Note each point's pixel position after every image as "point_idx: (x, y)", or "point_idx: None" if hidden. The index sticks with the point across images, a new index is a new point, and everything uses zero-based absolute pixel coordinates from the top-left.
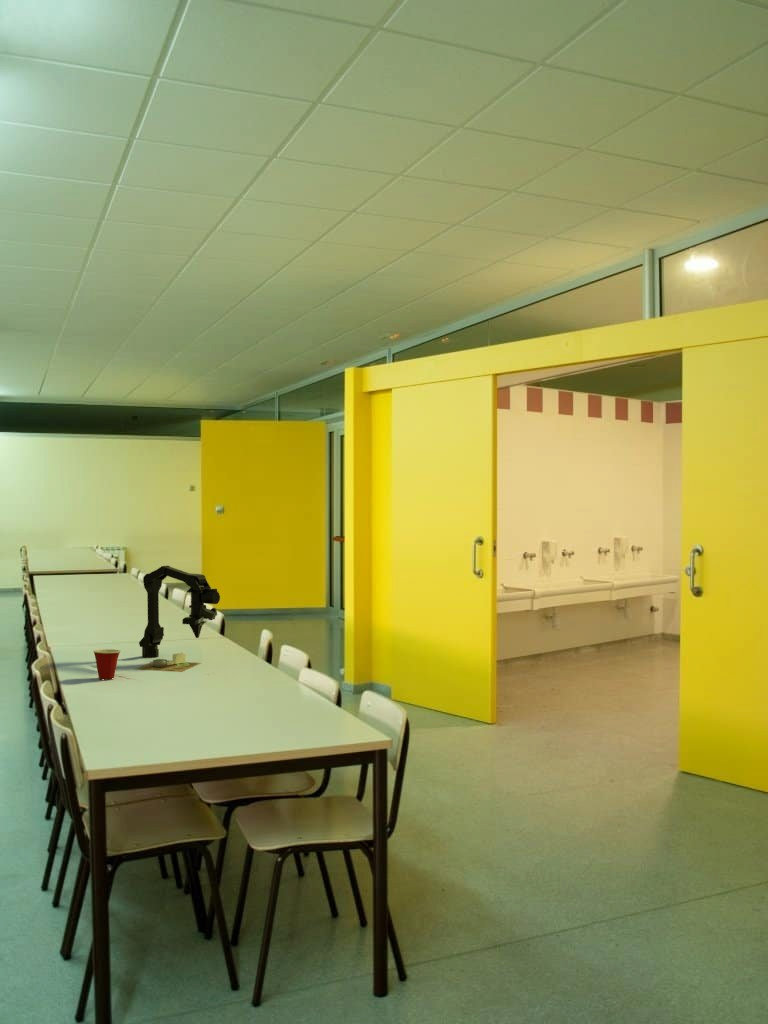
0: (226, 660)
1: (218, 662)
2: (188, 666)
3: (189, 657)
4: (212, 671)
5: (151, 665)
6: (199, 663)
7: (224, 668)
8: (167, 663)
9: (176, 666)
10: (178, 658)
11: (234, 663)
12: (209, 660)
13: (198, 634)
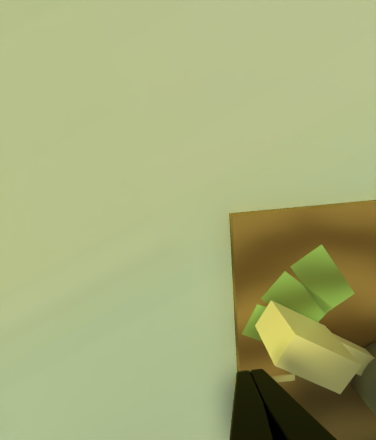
0: (18, 150)
1: (100, 167)
2: (350, 235)
3: (38, 388)
4: (372, 62)
5: (362, 413)
6: (249, 221)
7: (266, 29)
8: (367, 353)
9: (364, 295)
10: (326, 337)
11: (87, 43)
12: (66, 250)
13: (289, 403)
